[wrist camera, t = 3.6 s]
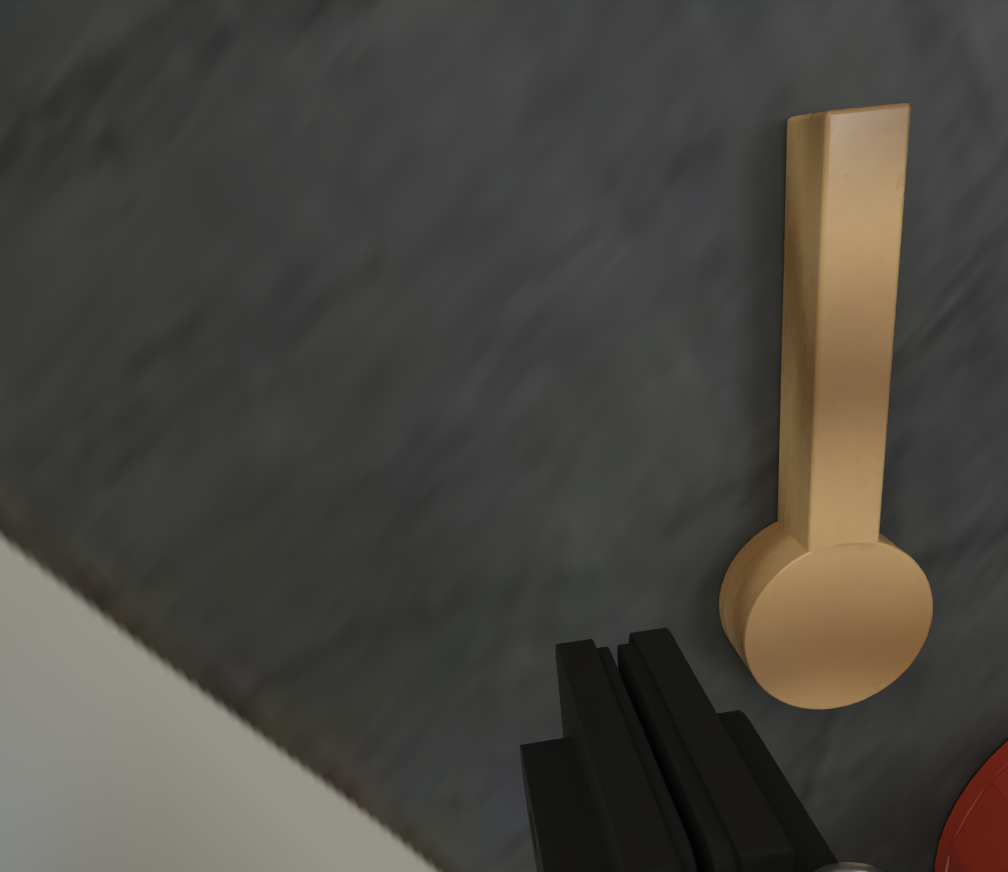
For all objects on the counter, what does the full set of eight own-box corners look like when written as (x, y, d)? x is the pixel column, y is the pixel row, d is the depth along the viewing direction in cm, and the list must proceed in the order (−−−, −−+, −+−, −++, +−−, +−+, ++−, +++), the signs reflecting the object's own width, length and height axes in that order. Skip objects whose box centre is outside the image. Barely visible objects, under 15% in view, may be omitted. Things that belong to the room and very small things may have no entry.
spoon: (715, 124, 15) (749, 118, 13) (931, 102, 15) (988, 93, 13) (718, 680, 19) (743, 723, 17) (885, 654, 19) (925, 694, 18)
